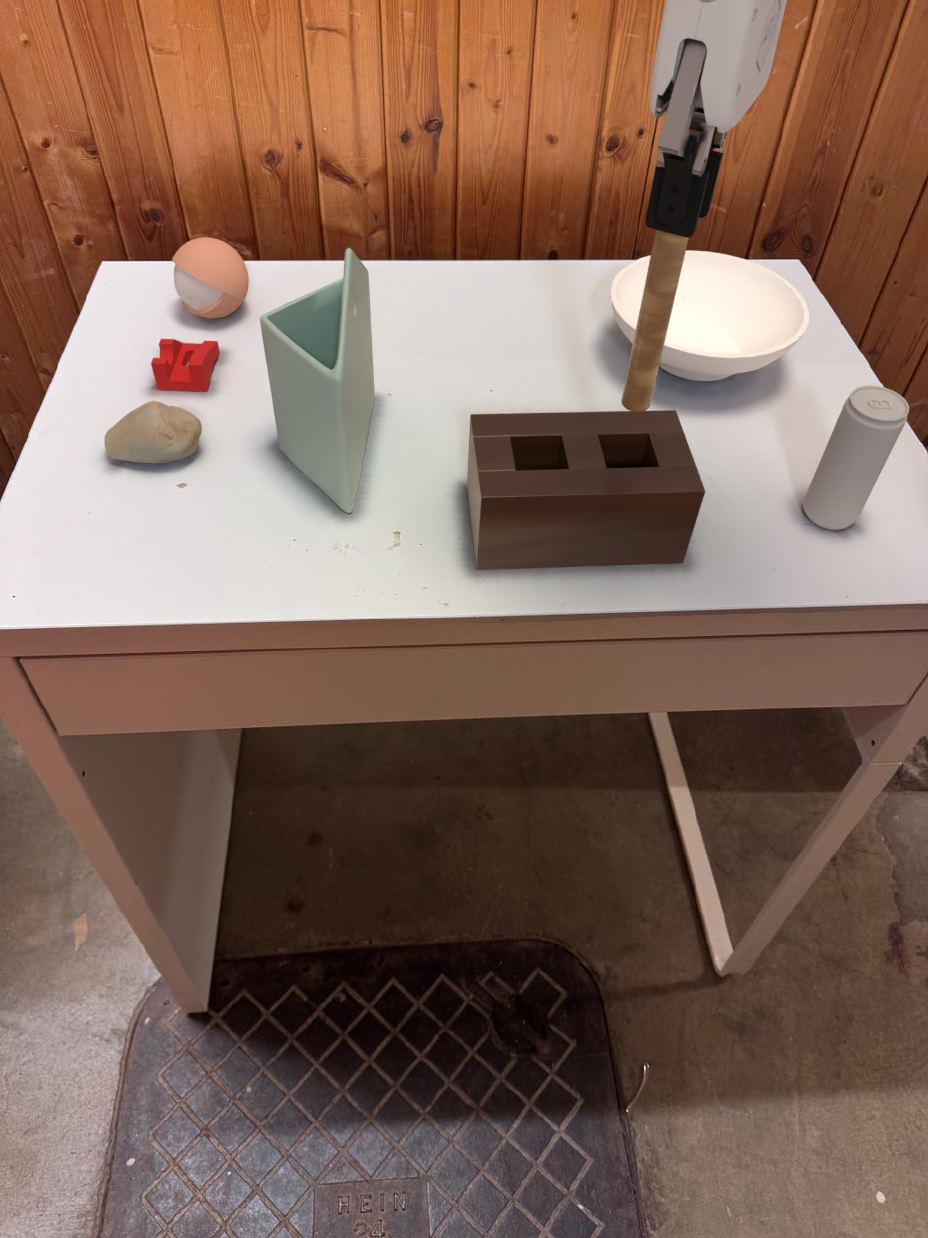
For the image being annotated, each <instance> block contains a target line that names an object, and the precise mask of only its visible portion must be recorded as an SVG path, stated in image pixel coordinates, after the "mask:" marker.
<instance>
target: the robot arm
mask: <svg viewBox="0 0 928 1238" xmlns="http://www.w3.org/2000/svg"><path fill="white" fill-rule="evenodd" d="M787 2H788V0H665V3H664V7H663V8H664V9H663V13H662V18H661V23H660V27H659V32H658V33H659V34H658V39H657V44H656V49H655V55H654V61H653V66H652V73H651V78H650V79H651V80H650V87H649V97H648V108H649V110H650V112H651V114H652V115H653V116H654V118H655V119H656V118H657V119H660V118H661V117H662V116H663V115H664V114H665V117H664V121H663V124H662V128H661V132H660V135H659V139H658V143H657V151H658V152H657V157H656V163H655V168H654V172H653V179H652V183H651V189H650V194H649V198H648V199H649V200H648V204H647V210H646V215H645V220H644V221H645V222H644V223H645V226H646V227H647V228H648V229H652V230H655V231H656V230H659V231H663V232H667V233H671V234H674V235H678V236H682V237H686V238H689V239H690V238H692V236H693V235H694V234H695V233H696V231H697V227H698V223H699V219H704V218H705V217H707V216H708V214H709V212H710V210H711V207H712V202H713V198H714V194H715V190H716V185H717V181H718V177H719V173H720V169H721V164H722V161H723V157H724V152H720V151H722V150H723V148H724V146H725V142H726V140H727V136H728V132H729V131H730V130H731V129H733V128H734V127H736V125H737V124H739V122H740V121H741V120H742V118H743V117H744V116H745V114H746V113H747V112H748V110H749V109H750V108H751V106H752V105H753V104H754V103H755V102H756V100H757V98H758V97H759V96H760V94H762V91H763V90H764V88H765V87H766V85H767V83H768V80H769V78H770V75H771V72H772V68H773V63H774V59H775V54H776V50H777V45H778V41H779V38H780V32H781V28H782V24H783V20H784V15H785V12H786V11H785V10H786V6H787ZM689 129H691V130H695V131H699V132H701V133H700V137H699V142H698V143H697V137H696V136H694V135H690V134H689ZM717 150H718V151H717Z"/></svg>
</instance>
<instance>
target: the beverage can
mask: <svg viewBox="0 0 928 1238" xmlns="http://www.w3.org/2000/svg"><path fill="white" fill-rule="evenodd" d="M909 412H910V406H909V403H908V401H907V400H906V399H905V398H904V397H903V396H902V395H901V394H900V393H898V392H897V391H894V390H892V389H890V388H887V387H884V386H880V385H871V384H870V385H862V386H858V387H856V388H854V389H853V390H852V391H851V392H850V393H849V396H848V397H847V399H845V401H844V403H843V406H842V409H841V410H840V413H839V415H838V418H837V420H836V423H835V425H834V428H833V430H832V432H831V434H830V437H829V439H828V441H827V444H826V446H825V449H824V450H823V453H822V455H821V458H820V460H819V463H818V465H817V468H816V470H815V472H814V474H813V477H812V478H811V482H810V483H809V487H808V489H807V491H806V494H805V495H804V498H803V503H802V507H803V511H804V513H805V515H806V516H807V518H808V519H809V520H810V521H811V523H814V524H815V525H816V526H818V527H821V528H823V529H827V530H832V531H838V530H843V529H847V528H848V527H850V526H852V525H854V524H855V523H856V522H857V521H858V520H859V517H860V515H861V514H862V511H863V509H864V508H865V505H866V503H867V502H868V499H869V498H870V495H871V493H872V491H873V489H874V487H875V485H876V483H877V482H878V479H879V478H880V476H881V473H882V471H883V469H884V467H885V465H886V463H887V461H888V460H889V457H890V455H891V454H892V451H893V449H894V447H895V445H896V443H897V441H898V439H899V437H900V435H901V433H902V431H903V429H904V427H905V425H906V423H907V420H908V414H909Z"/></svg>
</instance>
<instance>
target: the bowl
mask: <svg viewBox="0 0 928 1238" xmlns="http://www.w3.org/2000/svg"><path fill="white" fill-rule="evenodd" d="M650 257H651V254H650V255H647V256H643V257H640V258H638V259H636V260H634V261H632V262H629V263H627V265H625V266H624V267H623V268H622V269H620V270H618V273H617V274H616V275H615V276H614V278H613V279H612V282H611V286H610V291H609V292H610V304H611V309H612V314H613V316H614V319H615V320H616V323H617V326H619V328H620V330H621V331H622V333H623V335H624V336H625V337H626V338H627V339H628V340H629V342H630V343H631V344H632V345H633V341H634V336H635V331H636V326H637V321H638V316H639V311H640V306H641V301H642V296H643V291H644V286H645V281H646V276H647V272H648V267H649V262H650ZM809 324H810V311H809V305H808V304H807V300H805V298H804V296H803V295H802V294H801V292H800V291H799V290H798V289H797V288H796V286H794V285H793V284H792V283H791V282H790V281H788V280H787V279H786V278H784V277H782V275H780V274H778V273H777V272H775V271H773V270H771V269H769V268H767V267H765V266H763V265H761V264H758V263H756V262H753V261H750V260H747V259H745V258H741V257H739V256H735V255H730V254H727V253H719V252H713V251H706V250H686V252H685V257H684V261H683V265H682V270H681V274H680V278H679V282H678V287H677V291H676V295H675V300H674V304H673V308H672V313H671V317H670V321H669V326H668V330H667V334H666V339H665V343H664V347H663V352H662V356H661V360H660V365H659V368H661V370H664V371H666V372H667V373H669V374H671V375H673V376H676V377H679V378H682V379H685V380H691V381H695V382H711V381H712V382H715V381H719V380H723V379H727V378H729V377H731V376H733V375H734V374H735V375H736V374H742V373H748V372H753V371H756V370H759V369H761V368H765V367H766V366H768V365H770V364H772V363H773V362H775V361H776V360H778V359H779V358H781V357H783V356H785V355H786V354H787V353H788V352H789V351H790V350H791V349H792V348H794V346H796V344H797V343H798V342H799V340H801V339H802V338H803V336H804V334H805V333H806V330H807V328H808V325H809Z"/></svg>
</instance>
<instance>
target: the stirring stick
mask: <svg viewBox="0 0 928 1238" xmlns="http://www.w3.org/2000/svg"><path fill="white" fill-rule="evenodd" d="M700 133H701V132H699V131H695V130H691V129H689V134H690V135H694V136H696V137H697V143H698V142H699V137H700ZM689 239H690V237H689V238H686V237H682V236H678V235H674V234H671V233H667V232H663V231H659V230H655V233H654V237H653V241H652V247H651V252H650V255H651V257H650V262H649V267H648V272H647V276H646V281H645V286H644V291H643V296H642V301H641V306H640V311H639V316H638V321H637V326H636V331H635V336H634V341H633V344H632V347H631V350H630V357H629V361H628V366H627V370H626V377H625V382H624V386H623V391H622V397H621V405H622V406H623V407H624V408H625V410H627V411H633V412H643V411H648V409H649V408H650V407H651V402H652V399H653V395H654V390H655V386H656V381H657V377H658V373H659V369H660V367H659V365H660V360H661V356H662V352H663V347H664V343H665V339H666V334H667V330H668V326H669V321H670V317H671V313H672V308H673V304H674V300H675V295H676V291H677V287H678V282H679V278H680V274H681V270H682V265H683V261H684V257H685V252H686V251H687V247H688V243H689Z"/></svg>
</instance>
